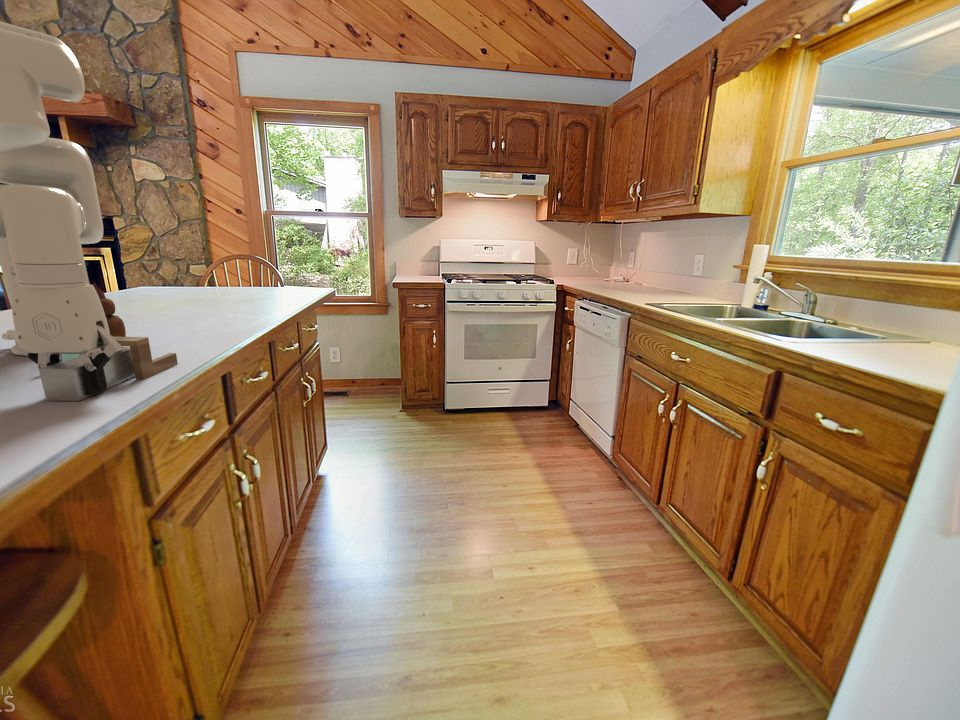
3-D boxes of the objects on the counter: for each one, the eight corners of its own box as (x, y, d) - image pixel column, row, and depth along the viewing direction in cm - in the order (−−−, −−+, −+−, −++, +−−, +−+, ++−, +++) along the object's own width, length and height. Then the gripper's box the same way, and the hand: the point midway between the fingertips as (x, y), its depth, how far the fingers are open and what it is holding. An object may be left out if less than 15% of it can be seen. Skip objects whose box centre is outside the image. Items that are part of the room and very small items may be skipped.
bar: (46, 400, 64) (38, 368, 63) (115, 373, 78) (109, 346, 76) (79, 400, 65) (72, 369, 63) (141, 373, 78) (137, 347, 77)
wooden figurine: (103, 354, 89) (88, 282, 85) (81, 352, 90) (65, 281, 86) (135, 347, 96) (122, 280, 92) (113, 345, 97) (100, 278, 93)
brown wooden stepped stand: (88, 378, 75) (80, 339, 73) (129, 363, 84) (123, 328, 82) (143, 379, 75) (136, 340, 73) (177, 363, 85) (172, 329, 83)
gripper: (-38, 275, 58) (-3, 400, 63) (95, 279, 60) (119, 401, 65) (15, 272, 65) (43, 384, 70) (132, 275, 67) (152, 385, 72)
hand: (79, 391), depth 67 cm, fingers closed on bar, 4 cm apart
